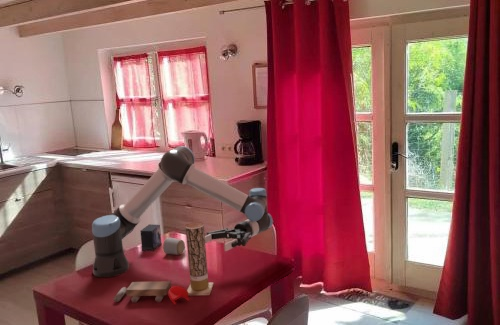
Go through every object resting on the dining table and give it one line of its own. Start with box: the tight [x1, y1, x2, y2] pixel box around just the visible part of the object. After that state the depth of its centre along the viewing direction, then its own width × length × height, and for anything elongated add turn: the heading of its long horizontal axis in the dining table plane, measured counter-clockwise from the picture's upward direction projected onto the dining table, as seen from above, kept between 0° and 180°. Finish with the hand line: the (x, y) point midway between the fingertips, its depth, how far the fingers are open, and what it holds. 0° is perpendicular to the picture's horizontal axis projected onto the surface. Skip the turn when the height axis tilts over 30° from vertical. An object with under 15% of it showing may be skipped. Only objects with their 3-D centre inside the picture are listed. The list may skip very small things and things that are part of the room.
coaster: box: [186, 281, 214, 297], centre depth 180 cm, size 9×9×1 cm
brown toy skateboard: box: [113, 280, 172, 303], centre depth 177 cm, size 20×8×5 cm, turn 85°
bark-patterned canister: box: [185, 221, 209, 291], centre depth 178 cm, size 7×7×25 cm
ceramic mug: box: [162, 237, 186, 256], centre depth 222 cm, size 11×8×8 cm
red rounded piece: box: [167, 285, 190, 306], centre depth 171 cm, size 8×6×6 cm
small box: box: [139, 223, 163, 252], centre depth 231 cm, size 11×6×10 cm, turn 168°
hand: (212, 244), depth 184 cm, fingers open, 13 cm apart
